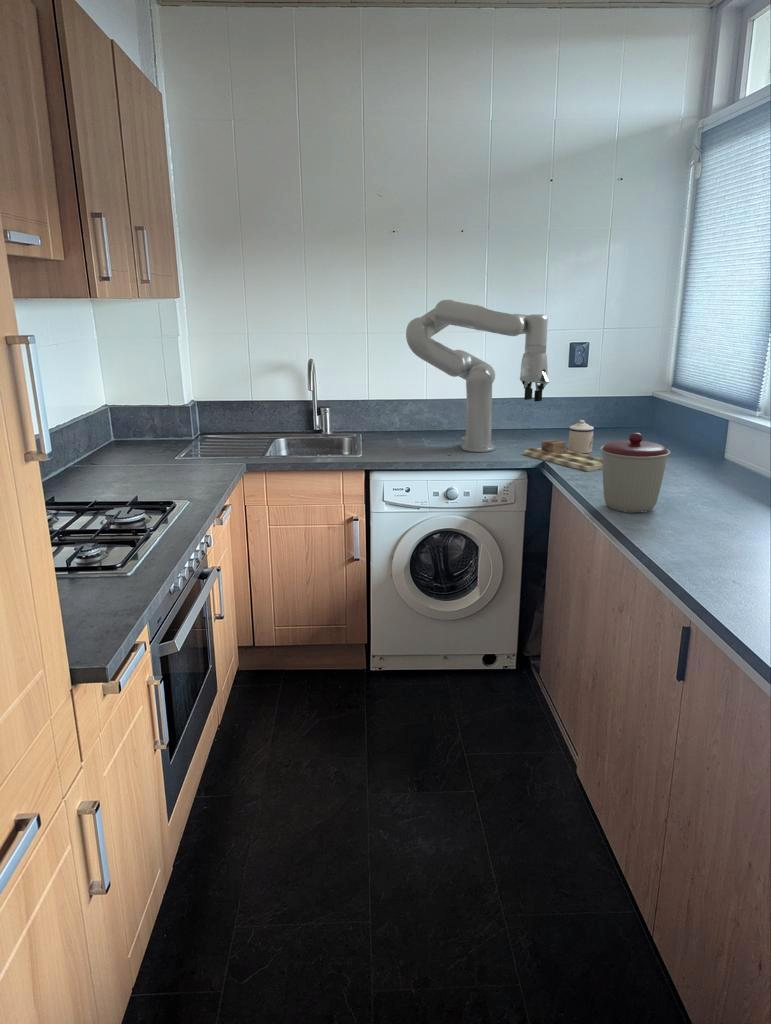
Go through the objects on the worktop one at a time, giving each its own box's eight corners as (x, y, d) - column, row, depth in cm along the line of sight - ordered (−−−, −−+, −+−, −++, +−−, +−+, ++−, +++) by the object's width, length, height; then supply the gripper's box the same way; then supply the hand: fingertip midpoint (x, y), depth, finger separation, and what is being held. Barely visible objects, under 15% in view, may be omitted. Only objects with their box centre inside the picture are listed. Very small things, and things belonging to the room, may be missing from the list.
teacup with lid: (595, 453, 268) (597, 422, 265) (570, 454, 269) (572, 422, 265) (587, 447, 280) (589, 417, 277) (563, 447, 280) (565, 417, 277)
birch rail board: (523, 454, 269) (524, 447, 268) (548, 450, 274) (548, 444, 274) (587, 471, 242) (588, 464, 241) (613, 467, 248) (613, 459, 247)
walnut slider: (541, 451, 265) (541, 441, 263) (553, 450, 268) (554, 439, 266) (552, 454, 260) (553, 443, 258) (565, 452, 263) (565, 441, 261)
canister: (679, 513, 196) (687, 436, 190) (623, 520, 190) (630, 441, 184) (634, 496, 212) (641, 425, 206) (582, 503, 206) (587, 429, 200)
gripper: (512, 348, 268) (510, 398, 274) (543, 351, 254) (541, 403, 260) (527, 348, 272) (525, 396, 277) (559, 350, 258) (556, 402, 263)
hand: (533, 399), depth 268 cm, fingers open, 4 cm apart
